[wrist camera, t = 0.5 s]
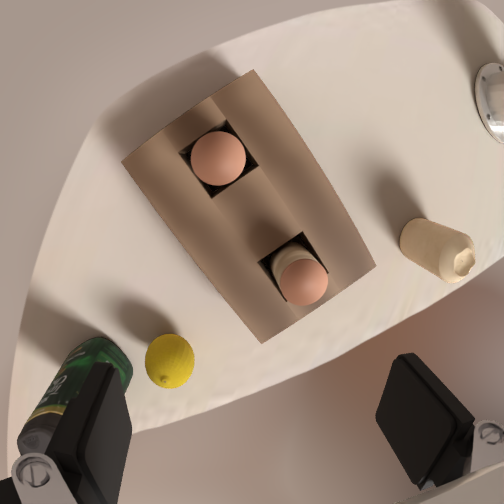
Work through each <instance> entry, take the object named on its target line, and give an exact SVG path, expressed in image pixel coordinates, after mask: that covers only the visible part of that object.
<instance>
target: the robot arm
mask: <svg viewBox="0 0 504 504" xmlns="http://www.w3.org/2000/svg"><path fill="white" fill-rule="evenodd" d="M475 95H476V102H477V106H478V110H479V113H480V116H481V118H482V121H483V123H484V125H485V127H486V128H487V130H488V131H489V133H490V134H491V135H492V136H493V137H494V139H496V140H497V141H498V142H500V143H502V144H504V66H502V65H501V64H498V63H489V64H486V65H484V66H482V67H481V69H480V70H479V72H478V74H477V77H476V82H475ZM474 420H475V418H474V417H473V416H472V414H471V413H470V412H469V411H468V410H467V409H466V408H465V407H464V406H463V404H462V403H461V402H460V401H459V400H458V399H457V398H456V397H455V396H454V395H453V394H452V392H451V391H450V390H449V389H448V388H447V387H446V386H445V385H444V384H443V383H442V382H441V381H440V379H439V378H438V377H437V376H436V375H435V374H434V373H433V372H432V371H431V370H430V369H429V368H428V367H427V366H426V365H425V364H424V363H423V361H422V360H421V359H420V358H419V357H418V356H417V355H416V354H414V353H408V354H401V355H398V357H397V358H396V359H395V360H394V361H393V363H392V367H391V370H390V373H389V376H388V379H387V382H386V385H385V388H384V391H383V395H382V397H381V400H380V403H379V406H378V409H377V411H376V422H377V423H378V425H379V427H380V428H381V430H382V432H383V433H384V435H385V437H386V439H387V440H388V442H389V444H390V445H391V447H392V449H393V451H394V452H395V454H396V456H397V457H398V459H399V461H400V463H401V464H402V466H403V468H404V469H405V471H406V473H407V475H408V476H409V478H410V480H411V482H412V483H413V484H415V485H417V486H418V488H419V489H420V491H421V490H423V489H426V488H429V487H431V486H433V484H435V486H436V488H435V489H432V490H430V491H427V492H424V493H422V494H419V495H417V496H414V497H411V498H408V499H406V500H403V501H400V502H397V503H394V504H504V427H503V426H502V425H501V424H500V423H498V422H496V421H492V420H484V421H481V422H479V423H478V424H477V425H476V426H474V425H473V422H474ZM131 435H132V425H131V421H130V417H129V413H128V409H127V404H126V400H125V396H124V391H123V387H122V382H121V377H120V372H119V369H118V368H115V367H114V366H113V364H112V363H108V362H98V361H96V362H94V364H93V366H92V368H91V370H90V372H89V374H88V376H87V378H86V379H85V381H84V383H83V386H82V388H81V390H80V392H79V394H78V396H77V397H72V398H71V399H70V401H69V402H68V404H67V406H66V408H65V410H64V412H63V414H62V416H61V419H60V421H59V423H58V425H57V427H56V429H55V431H54V433H53V436H52V438H51V440H50V442H49V444H48V447H47V449H46V451H45V453H44V454H41V453H28V454H25V455H23V456H20V457H19V458H18V459H17V460H16V461H15V462H14V464H13V466H12V470H11V474H12V477H9V478H7V479H4V480H1V481H0V504H117V502H118V496H119V491H120V486H121V481H122V476H123V471H124V466H125V462H126V457H127V452H128V448H129V444H130V439H131Z"/></svg>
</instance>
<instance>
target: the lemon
mask: <svg viewBox="0 0 504 504" xmlns="http://www.w3.org/2000/svg"><path fill="white" fill-rule="evenodd" d="M145 367H146V371H147V374H148V376H149V378H150V379H151V380H152V381H153V382H154V383H155V384H156V385H158V386H160V387H163V388H170V389H172V388H177V387H179V386H181V385H183V384H184V383H185V382H186V381H187V380H188V379H189V377H190V376H191V374H192V371H193V368H194V353H193V350H192V348H191V346H190V344H189V343H188V342H187V341H186V340H185V339H184V338H182V337H181V336H178V335H175V334H164V335H161V336H159V337H157V338H156V339H155V340H153V342H152V343H151V344H150V345H149V347H148V350H147V352H146V356H145Z"/></svg>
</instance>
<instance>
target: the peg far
mask: <svg viewBox="0 0 504 504" xmlns="http://www.w3.org/2000/svg"><path fill="white" fill-rule="evenodd" d="M270 266H271V270H272V272H273V274H274V276H275V279H276V281H277V283H278V285H279V287H280V290H281V292H282V294H283V296H284V297H285V298H286V300H287V301H289V302H290V303H292V304H295V305H299V306H305V305H309V304H312V303H314V302H316V301H317V300H319V299H320V298H321V297H322V296H323V294H324V293H325V291H326V289H327V285H328V276H327V273H326V271H325V269H324V268H323V266H322V265H321V264H320V263H319V262H318V261H317V260H316V259H315V258H314V257H313V256H312V255H311V254H310V252H309V251H308V250H307V249H306V248H305V247H304V246H302V245H301V244H298V243H295V242H289V243H284V244H283V245H281V246H280V247H278V248H277V249H276V250H275V251H274V252H273V254H272V256H271V260H270Z"/></svg>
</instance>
